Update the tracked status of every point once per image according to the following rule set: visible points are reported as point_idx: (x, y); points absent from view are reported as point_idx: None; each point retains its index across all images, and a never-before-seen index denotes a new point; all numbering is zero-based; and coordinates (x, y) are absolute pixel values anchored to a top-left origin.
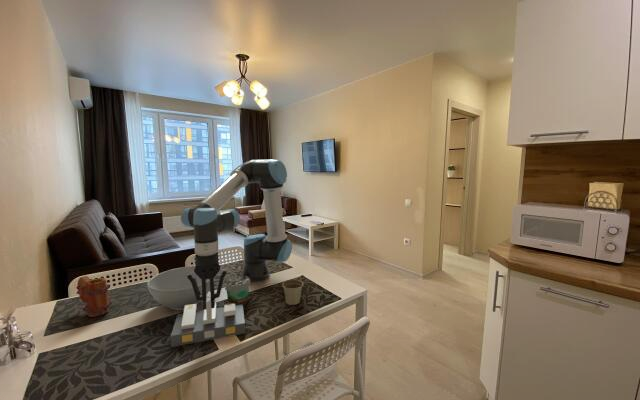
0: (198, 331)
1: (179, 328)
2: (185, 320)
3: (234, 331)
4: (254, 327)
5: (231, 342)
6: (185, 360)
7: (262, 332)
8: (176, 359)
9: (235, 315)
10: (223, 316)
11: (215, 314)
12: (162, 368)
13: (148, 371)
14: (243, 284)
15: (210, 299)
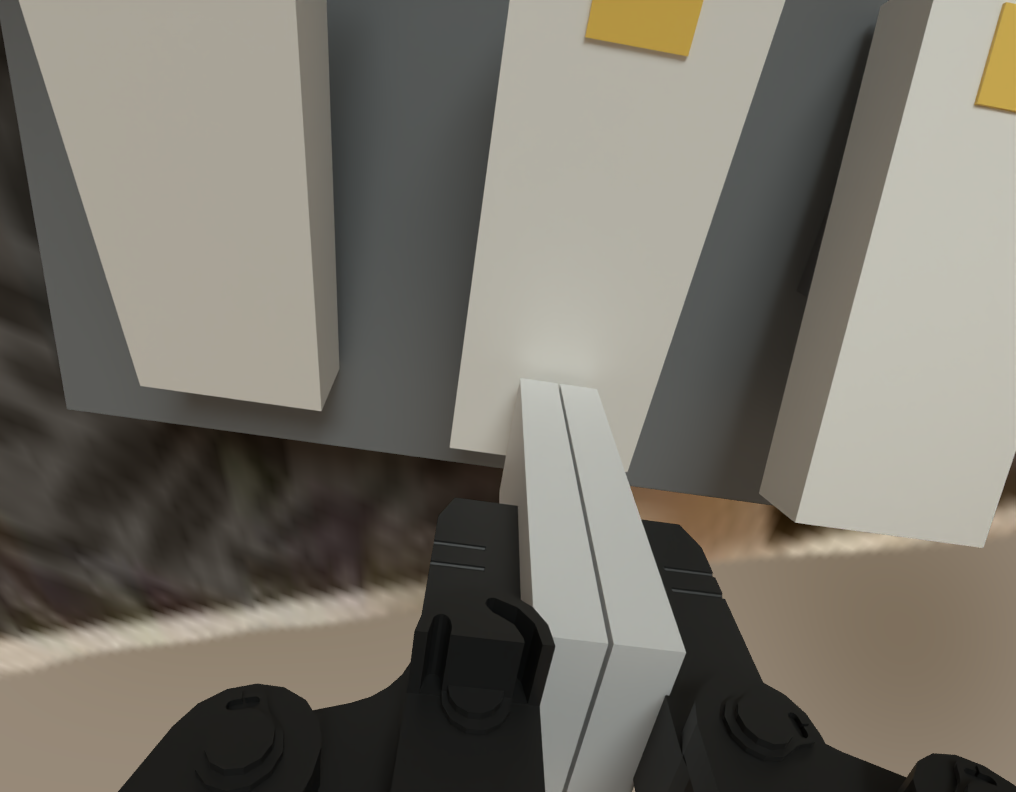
0: (396, 453)
1: None
2: (168, 304)
3: None
4: None
5: (694, 524)
6: (314, 573)
7: (1000, 511)
8: (241, 535)
9: None
10: (771, 244)
11: (655, 386)
12: (157, 583)
13: (60, 573)
14: None
15: (634, 744)
